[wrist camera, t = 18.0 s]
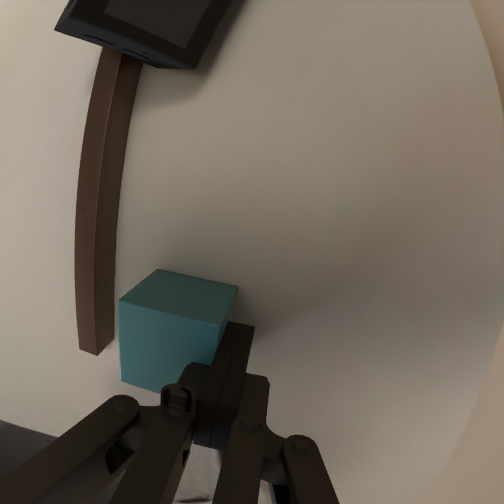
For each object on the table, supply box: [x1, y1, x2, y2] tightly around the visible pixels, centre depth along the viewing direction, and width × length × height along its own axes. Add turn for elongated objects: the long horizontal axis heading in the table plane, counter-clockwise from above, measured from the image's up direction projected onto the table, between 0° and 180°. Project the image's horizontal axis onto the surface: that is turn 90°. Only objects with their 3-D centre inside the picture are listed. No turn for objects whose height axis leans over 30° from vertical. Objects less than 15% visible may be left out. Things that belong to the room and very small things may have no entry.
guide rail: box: [75, 47, 142, 356], centre depth 14 cm, size 2×42×2 cm, turn 170°
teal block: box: [118, 269, 237, 394], centre depth 17 cm, size 5×5×5 cm
